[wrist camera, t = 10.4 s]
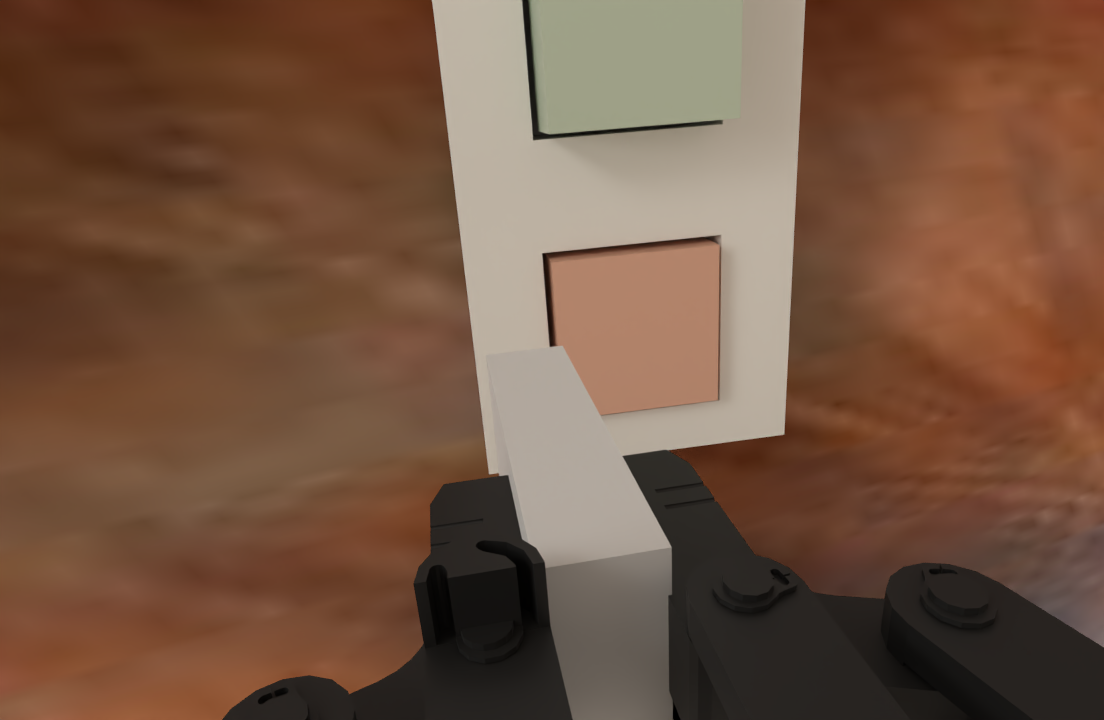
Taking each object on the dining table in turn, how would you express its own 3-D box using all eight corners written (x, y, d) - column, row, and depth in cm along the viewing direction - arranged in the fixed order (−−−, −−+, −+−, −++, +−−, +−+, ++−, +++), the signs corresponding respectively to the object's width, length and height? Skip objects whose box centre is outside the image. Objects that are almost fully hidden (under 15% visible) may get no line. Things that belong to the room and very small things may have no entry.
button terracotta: (553, 391, 34) (563, 419, 31) (541, 247, 31) (551, 262, 28) (694, 374, 34) (717, 399, 31) (694, 231, 32) (719, 245, 29)
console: (483, 426, 36) (489, 474, 32) (368, -535, 24) (348, -692, 19) (742, 393, 38) (784, 434, 33) (765, -528, 25) (838, -672, 20)
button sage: (537, 130, 28) (548, 134, 25) (522, -74, 25) (532, -98, 22) (709, 116, 28) (740, 118, 25) (710, -84, 26) (744, -109, 23)
